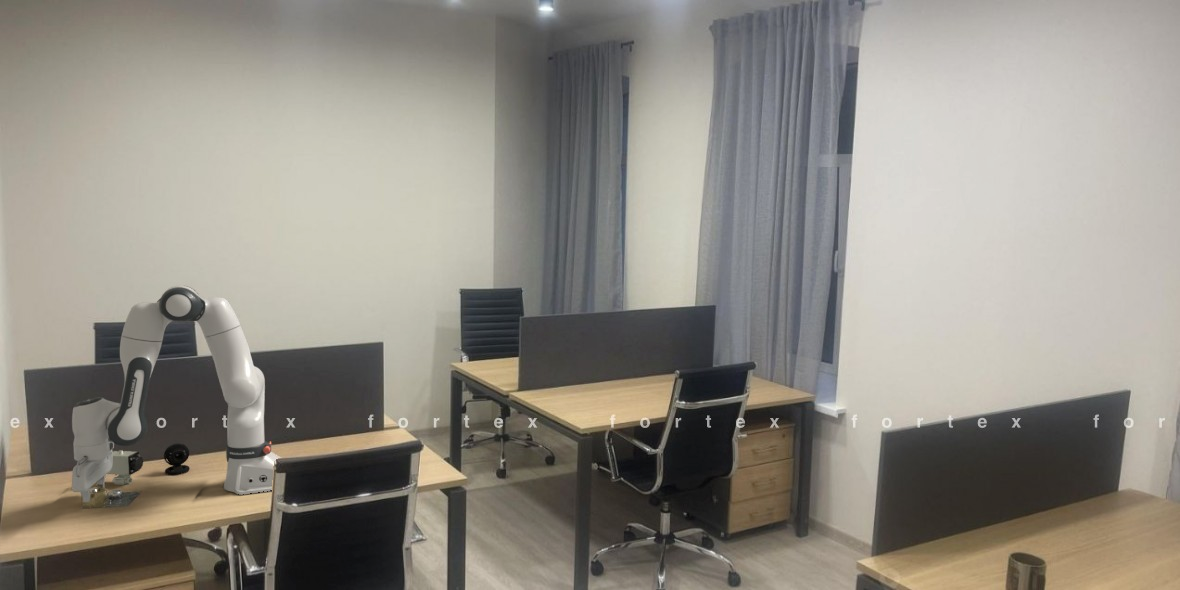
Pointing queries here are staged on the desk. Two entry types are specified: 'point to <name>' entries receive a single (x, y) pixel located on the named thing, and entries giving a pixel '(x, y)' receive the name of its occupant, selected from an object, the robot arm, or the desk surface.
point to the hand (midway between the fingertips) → (94, 495)
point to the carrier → (116, 499)
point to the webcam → (176, 459)
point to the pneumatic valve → (125, 466)
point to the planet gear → (96, 497)
